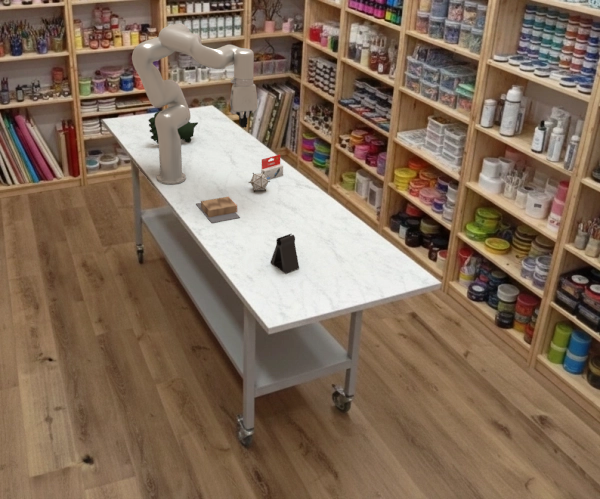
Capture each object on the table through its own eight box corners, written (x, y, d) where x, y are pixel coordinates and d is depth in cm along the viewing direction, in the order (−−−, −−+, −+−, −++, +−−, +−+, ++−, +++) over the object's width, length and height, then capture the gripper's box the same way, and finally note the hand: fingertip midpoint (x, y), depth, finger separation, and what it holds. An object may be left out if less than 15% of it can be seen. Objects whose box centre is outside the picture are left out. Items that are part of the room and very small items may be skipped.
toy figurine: (158, 154, 337) (204, 141, 349) (152, 117, 327) (200, 105, 338) (149, 148, 344) (195, 135, 355) (144, 111, 334) (191, 99, 345)
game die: (261, 199, 304) (266, 188, 295) (244, 190, 304) (247, 179, 295) (270, 183, 308) (274, 172, 299) (252, 175, 308) (256, 163, 299)
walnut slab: (228, 203, 290) (201, 207, 285) (228, 196, 289) (201, 201, 284) (237, 212, 284) (209, 217, 278) (237, 205, 282) (209, 210, 277)
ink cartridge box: (283, 175, 318) (284, 155, 314) (264, 181, 312) (264, 161, 307) (279, 174, 320) (280, 154, 315) (260, 179, 313) (261, 159, 309)
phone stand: (270, 263, 251) (271, 233, 245) (283, 258, 254) (284, 229, 248) (285, 273, 245) (287, 244, 239) (299, 268, 248) (300, 239, 243)
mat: (195, 204, 289) (195, 203, 288) (223, 199, 294) (222, 198, 294) (211, 223, 275) (211, 222, 275) (240, 218, 280) (240, 217, 280)
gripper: (229, 86, 267) (229, 131, 276) (265, 82, 273) (264, 127, 282) (222, 80, 273) (222, 125, 282) (257, 77, 279) (256, 121, 288)
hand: (243, 126), depth 282 cm, fingers closed
